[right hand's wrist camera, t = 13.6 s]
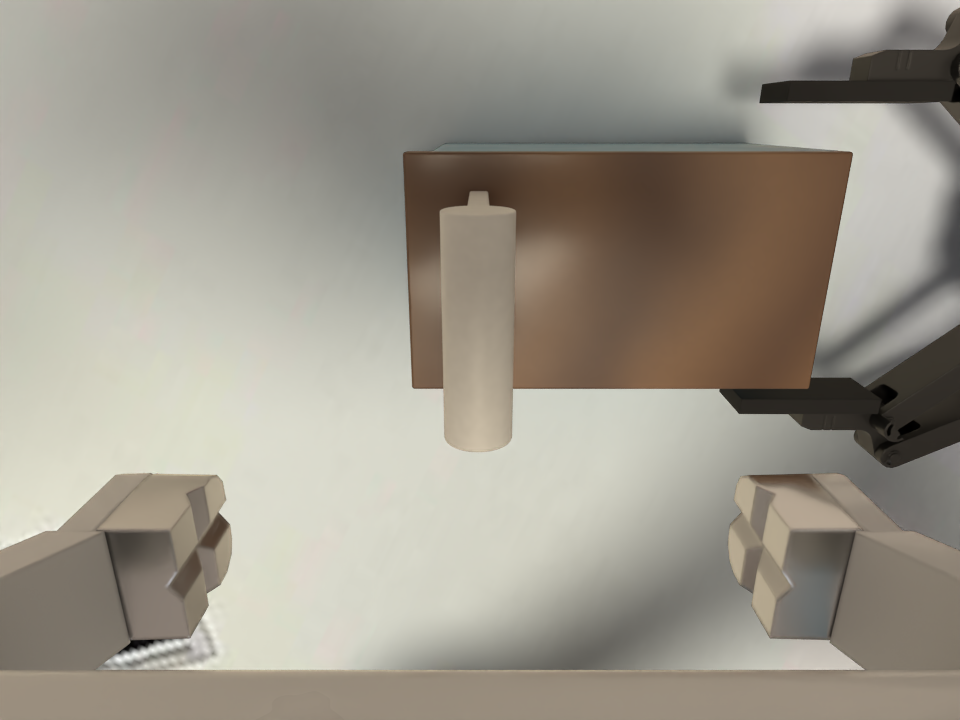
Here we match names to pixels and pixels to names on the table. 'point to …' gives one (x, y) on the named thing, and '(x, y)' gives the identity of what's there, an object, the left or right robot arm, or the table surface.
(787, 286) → the lid
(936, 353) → the left robot arm
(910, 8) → the table surface
